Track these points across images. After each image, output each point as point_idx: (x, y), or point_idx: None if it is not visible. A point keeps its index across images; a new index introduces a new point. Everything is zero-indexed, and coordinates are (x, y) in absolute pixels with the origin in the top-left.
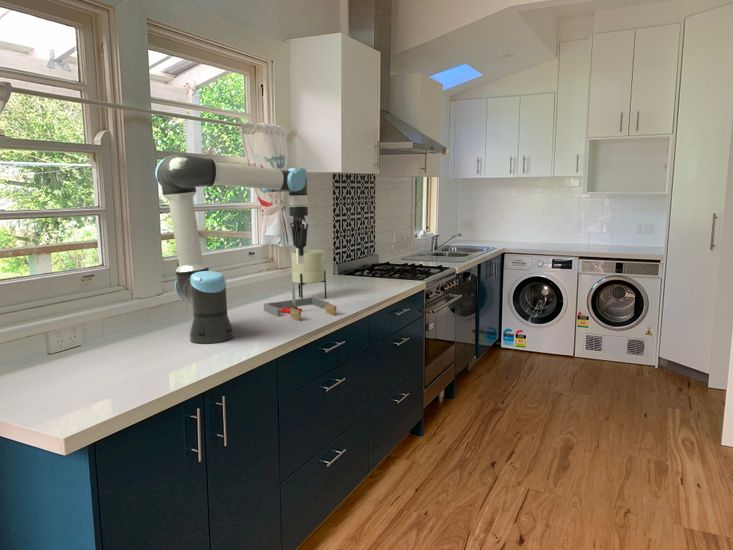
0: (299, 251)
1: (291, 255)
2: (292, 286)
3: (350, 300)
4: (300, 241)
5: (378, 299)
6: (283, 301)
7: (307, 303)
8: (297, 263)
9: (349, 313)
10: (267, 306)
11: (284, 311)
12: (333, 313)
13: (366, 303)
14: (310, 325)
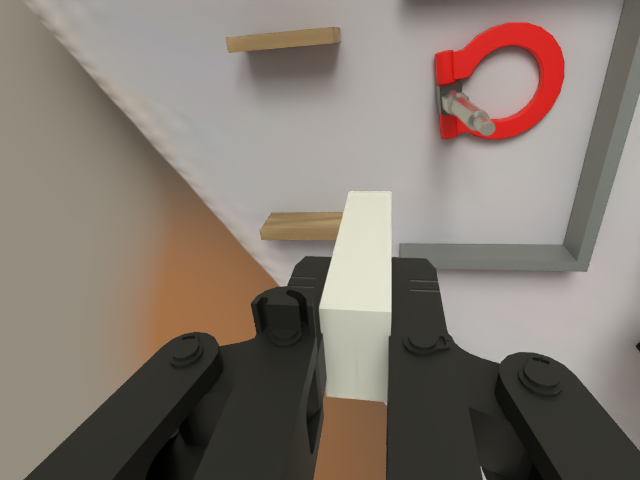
0: (319, 292)
1: None
2: (478, 117)
3: None
4: (113, 425)
5: None
6: (626, 89)
7: (572, 224)
8: (369, 192)
9: (281, 271)
10: None
11: (474, 38)
12: (275, 216)
13: None
14: (142, 53)
